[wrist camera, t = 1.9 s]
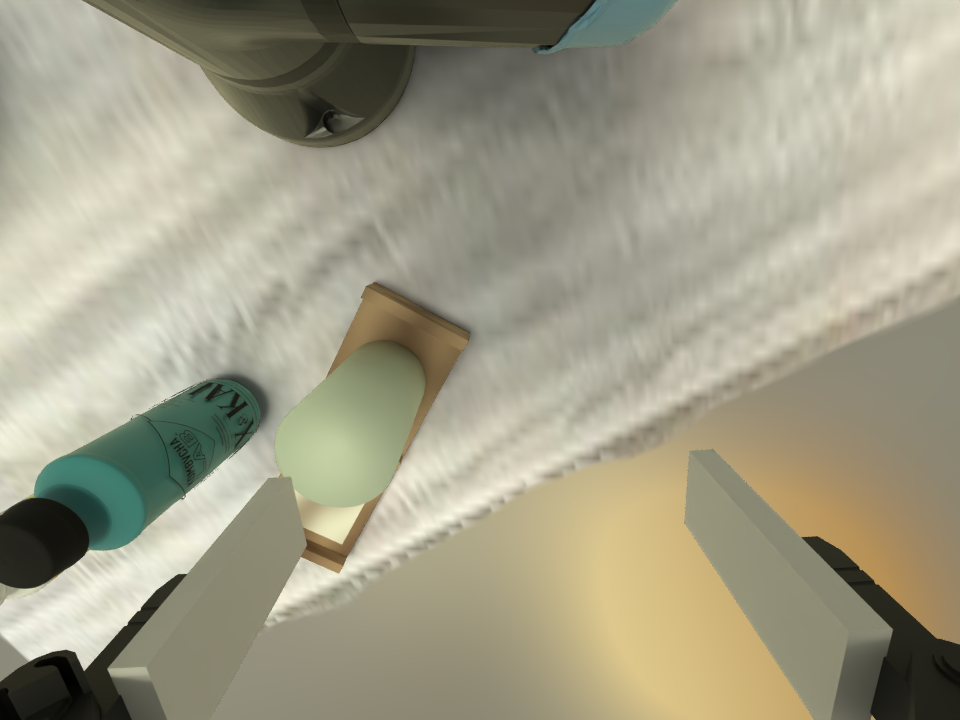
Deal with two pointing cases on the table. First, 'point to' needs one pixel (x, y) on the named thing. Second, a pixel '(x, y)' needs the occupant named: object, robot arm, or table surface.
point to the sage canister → (352, 426)
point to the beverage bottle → (123, 481)
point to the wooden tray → (437, 352)
